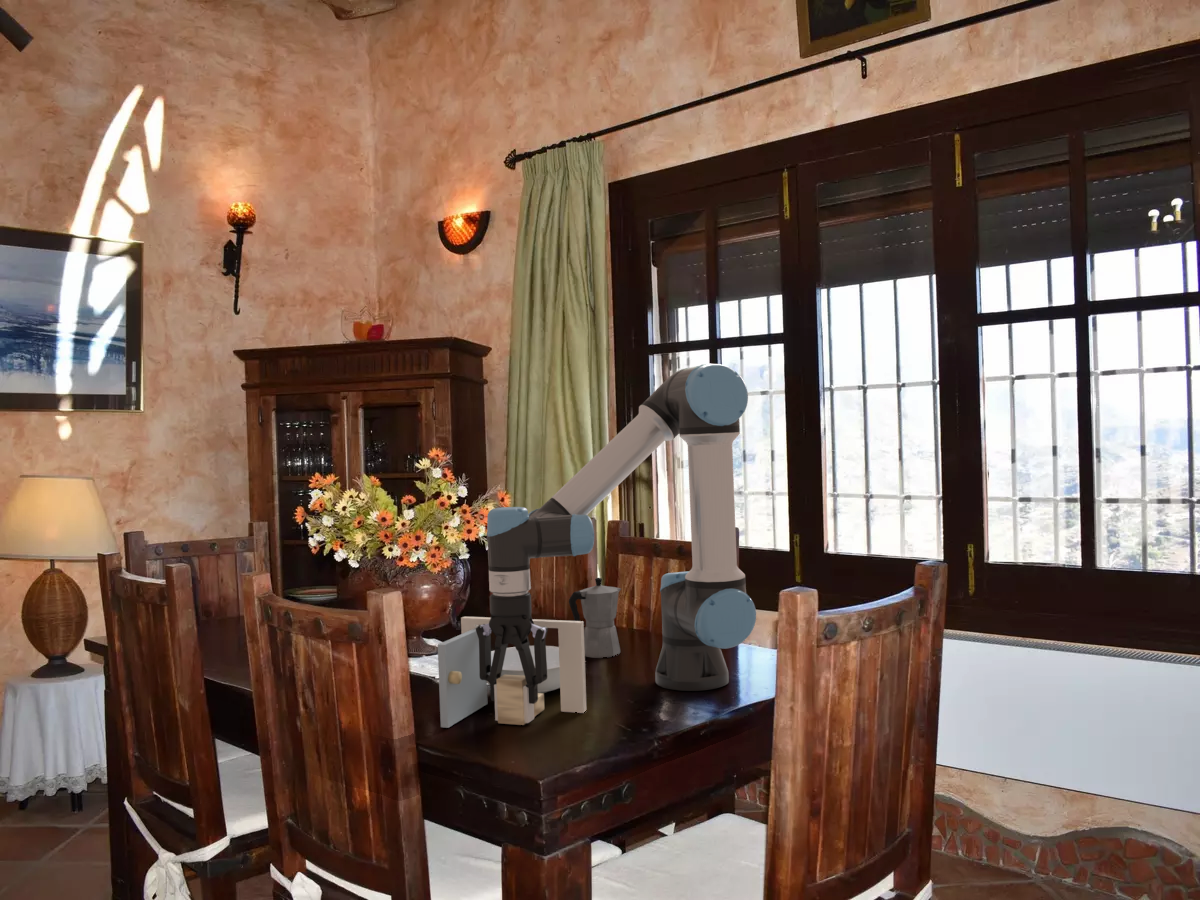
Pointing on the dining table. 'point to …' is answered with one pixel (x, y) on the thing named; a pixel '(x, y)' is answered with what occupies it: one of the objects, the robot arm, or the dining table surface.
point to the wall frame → (568, 658)
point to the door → (460, 678)
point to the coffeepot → (598, 619)
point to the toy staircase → (514, 700)
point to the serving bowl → (515, 667)
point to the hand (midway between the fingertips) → (514, 719)
